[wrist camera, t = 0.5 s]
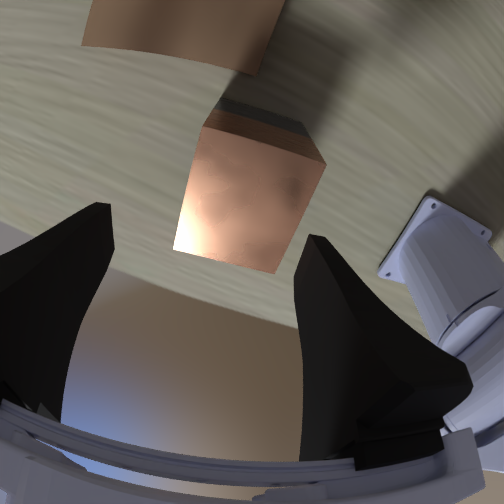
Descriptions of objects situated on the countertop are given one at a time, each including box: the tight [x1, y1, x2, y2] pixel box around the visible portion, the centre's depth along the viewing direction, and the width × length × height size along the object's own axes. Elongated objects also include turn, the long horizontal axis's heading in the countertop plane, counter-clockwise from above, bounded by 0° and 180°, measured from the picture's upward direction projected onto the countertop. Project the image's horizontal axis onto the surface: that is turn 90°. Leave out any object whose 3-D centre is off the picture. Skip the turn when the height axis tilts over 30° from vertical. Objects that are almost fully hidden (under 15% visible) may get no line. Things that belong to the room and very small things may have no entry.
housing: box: [173, 98, 327, 274], centre depth 16 cm, size 5×6×7 cm
